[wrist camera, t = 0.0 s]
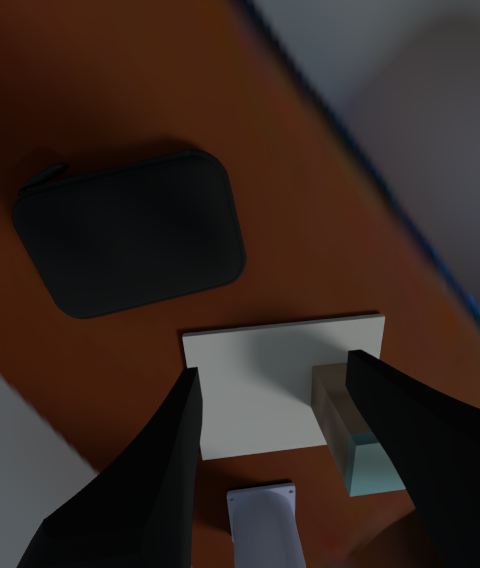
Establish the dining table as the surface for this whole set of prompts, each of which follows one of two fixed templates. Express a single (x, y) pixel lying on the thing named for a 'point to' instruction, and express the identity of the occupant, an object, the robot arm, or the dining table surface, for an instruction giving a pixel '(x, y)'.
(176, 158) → the carrying case or bag
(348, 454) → the teal and wood block
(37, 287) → the dining table surface
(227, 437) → the mat
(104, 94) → the dining table surface
